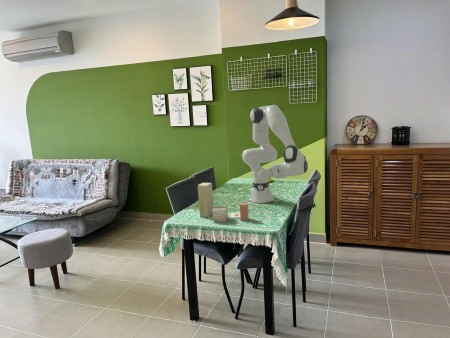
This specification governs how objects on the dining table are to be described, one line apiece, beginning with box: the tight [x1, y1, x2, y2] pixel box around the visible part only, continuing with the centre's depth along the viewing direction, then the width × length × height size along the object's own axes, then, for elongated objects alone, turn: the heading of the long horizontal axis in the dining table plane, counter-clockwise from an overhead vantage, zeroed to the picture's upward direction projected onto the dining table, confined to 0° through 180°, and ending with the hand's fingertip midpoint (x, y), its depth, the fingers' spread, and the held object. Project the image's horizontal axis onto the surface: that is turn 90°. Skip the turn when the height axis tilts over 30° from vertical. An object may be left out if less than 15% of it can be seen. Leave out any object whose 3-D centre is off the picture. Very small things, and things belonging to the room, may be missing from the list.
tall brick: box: [239, 202, 249, 222], centre depth 209 cm, size 4×4×10 cm
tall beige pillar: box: [197, 182, 214, 218], centre depth 220 cm, size 8×7×21 cm
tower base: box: [212, 205, 229, 223], centre depth 211 cm, size 8×8×8 cm
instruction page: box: [229, 211, 240, 219], centre depth 219 cm, size 10×8×1 cm
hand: (257, 175), depth 203 cm, fingers open, 8 cm apart
